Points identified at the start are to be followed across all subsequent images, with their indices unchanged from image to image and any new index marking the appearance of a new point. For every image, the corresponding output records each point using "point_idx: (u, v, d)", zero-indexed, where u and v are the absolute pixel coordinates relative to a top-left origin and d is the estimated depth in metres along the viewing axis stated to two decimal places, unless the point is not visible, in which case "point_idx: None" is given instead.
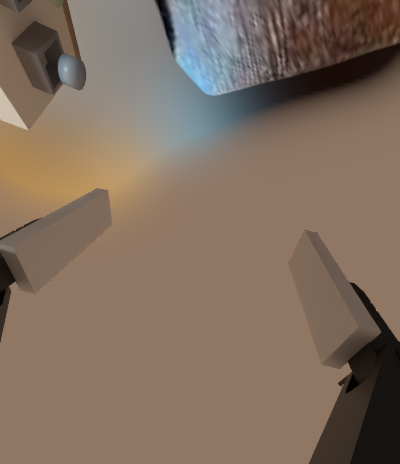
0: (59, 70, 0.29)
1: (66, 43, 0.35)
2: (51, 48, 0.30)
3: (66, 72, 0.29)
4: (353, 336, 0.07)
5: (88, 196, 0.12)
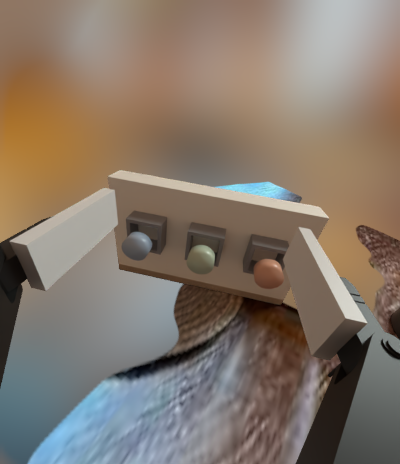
0: (145, 235, 0.30)
1: (138, 261, 0.39)
2: None
3: (143, 239, 0.29)
4: (341, 327, 0.07)
5: (96, 196, 0.12)
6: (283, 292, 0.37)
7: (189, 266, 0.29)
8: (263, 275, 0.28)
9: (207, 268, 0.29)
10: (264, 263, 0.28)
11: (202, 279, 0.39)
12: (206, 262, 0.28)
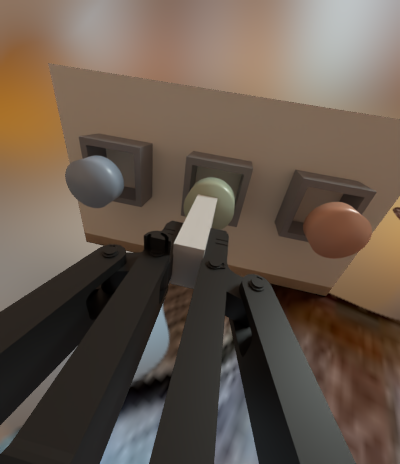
0: (109, 161, 0.17)
1: (112, 228, 0.26)
2: (125, 192, 0.21)
3: (104, 165, 0.16)
4: (190, 256, 0.09)
5: (199, 202, 0.13)
6: (334, 275, 0.24)
7: None
8: (330, 230, 0.14)
9: (222, 219, 0.16)
10: (331, 208, 0.15)
11: None
12: (220, 206, 0.15)
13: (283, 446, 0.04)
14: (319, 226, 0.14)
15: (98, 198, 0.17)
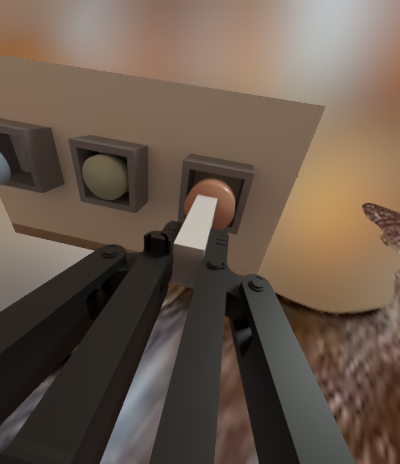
0: None
1: (36, 218, 0.26)
2: (31, 179, 0.21)
3: None
4: (190, 256, 0.09)
5: (199, 202, 0.13)
6: (254, 265, 0.24)
7: (89, 185, 0.18)
8: None
9: (117, 187, 0.18)
10: (201, 182, 0.15)
11: (131, 244, 0.25)
12: (111, 175, 0.17)
13: (283, 446, 0.04)
14: (188, 199, 0.15)
15: None
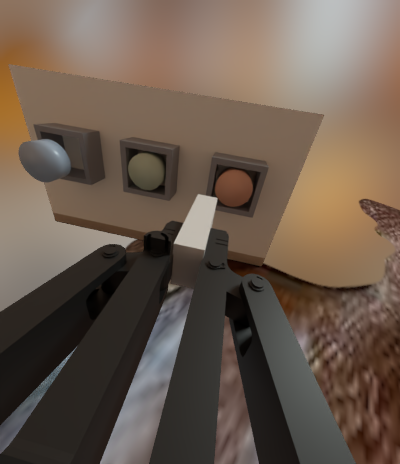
0: (56, 143, 0.20)
1: (76, 208, 0.30)
2: (79, 173, 0.25)
3: (49, 146, 0.20)
4: (190, 256, 0.09)
5: (199, 202, 0.13)
6: (264, 246, 0.28)
7: (133, 178, 0.22)
8: (226, 184, 0.21)
9: (155, 179, 0.22)
10: (228, 169, 0.21)
11: (158, 230, 0.30)
12: (152, 169, 0.22)
13: (283, 446, 0.04)
14: (219, 182, 0.21)
15: (47, 173, 0.20)
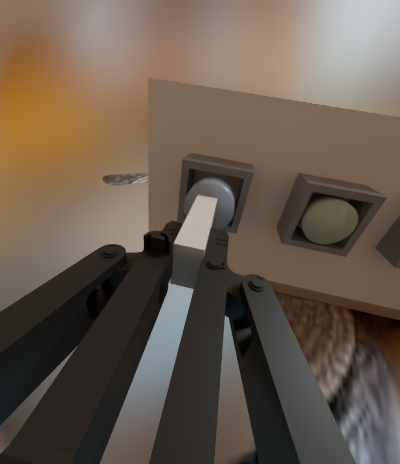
0: (226, 183, 0.16)
1: None
2: None
3: (226, 188, 0.15)
4: (190, 256, 0.09)
5: (199, 202, 0.13)
6: None
7: (306, 229, 0.17)
8: None
9: (341, 232, 0.16)
10: None
11: (286, 279, 0.24)
12: (343, 220, 0.16)
13: (283, 446, 0.04)
14: None
15: (214, 222, 0.16)
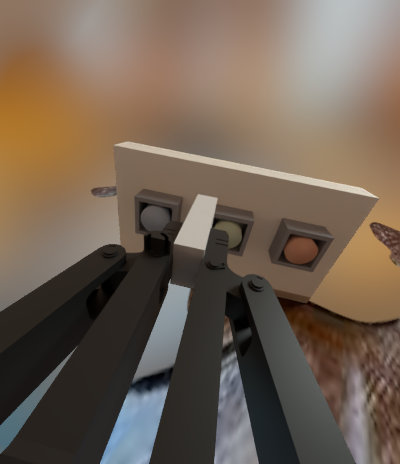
0: None
1: None
2: None
3: (164, 208, 0.27)
4: (190, 256, 0.09)
5: (199, 202, 0.13)
6: (311, 288, 0.33)
7: None
8: (295, 248, 0.26)
9: (234, 241, 0.26)
10: (296, 235, 0.26)
11: None
12: (234, 234, 0.26)
13: (283, 446, 0.04)
14: (289, 246, 0.26)
15: (159, 227, 0.27)
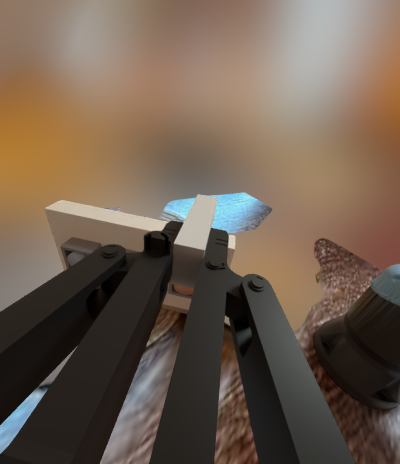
0: None
1: None
2: None
3: (84, 254, 0.35)
4: (190, 256, 0.09)
5: (199, 202, 0.13)
6: None
7: None
8: None
9: None
10: None
11: None
12: None
13: (283, 446, 0.04)
14: None
15: None
